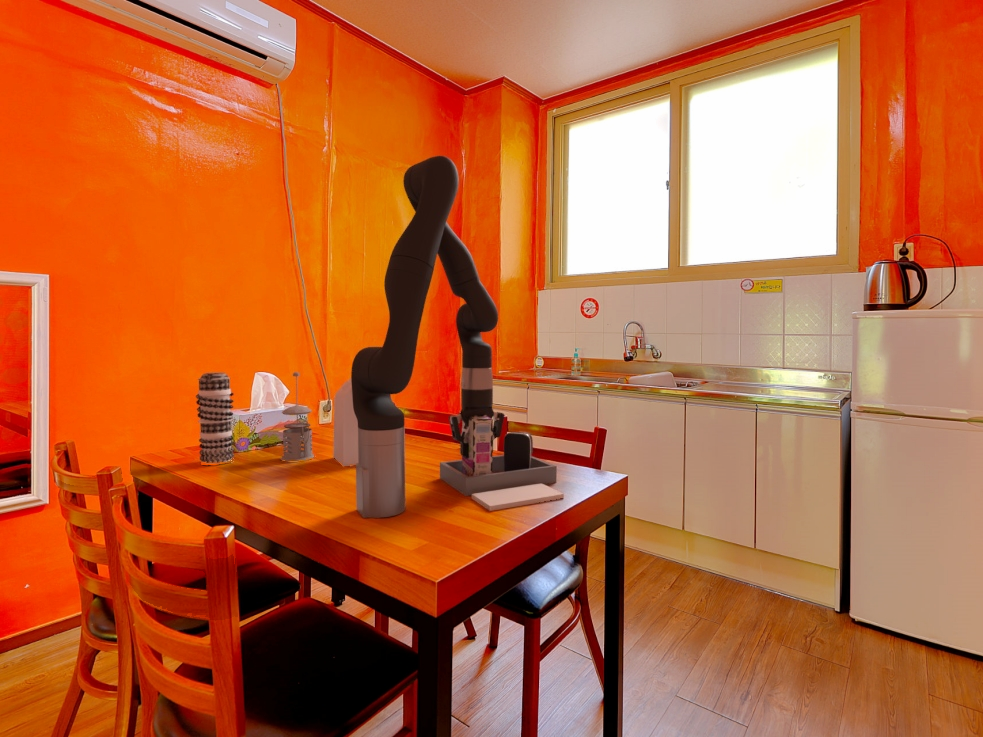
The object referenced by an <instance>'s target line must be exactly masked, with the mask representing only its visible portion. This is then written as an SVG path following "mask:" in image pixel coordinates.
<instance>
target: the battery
mask: <svg viewBox="0 0 983 737" xmlns="http://www.w3.org/2000/svg"><path fill="white" fill-rule="evenodd" d="M533 446H534V443H533V437H532V435H531V433H530V432H529V433H528V432H523V431H521V432H520V431H511V432H507V433H506V434H505V435H504V437H503V455H504V471H503V472H507V471H515V470H522V469H530V468H531V456H532V454H533V450H534V447H533Z"/></svg>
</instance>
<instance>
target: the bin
mask: <svg viewBox="0 0 983 737" xmlns="http://www.w3.org/2000/svg"><path fill="white" fill-rule="evenodd" d="M557 473H558V472H557V465H556V464H553V463H550V462H548V461H545V460H542V459H540V458H537V457H535V456H533V455H531V468H530V469H522V470H515V471H507V472H504V454H501V455H494V456H493V455H492V474H485V475H478V476H470V477H468V476H466V475H464V474H463V473H462V459H459V460H458V459H457V460H450V461H449V460H447V461H442V462H439V479H440V480H442V481H443V482H444V483H447V485H449V486H451V487H452V488H453V489H455V490H456V491H458V492H460V494H462V495H464V496H465V497H470V496H472V494H475V493H481V492H488V491H494V490H501V489H508V488H514V487H521V486H527V485H534V484H541V483H542V484H544V485H548V484H547V483H549V484H554V483H553V482H556V483H557Z"/></svg>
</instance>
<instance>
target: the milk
mask: <svg viewBox="0 0 983 737" xmlns="http://www.w3.org/2000/svg"><path fill="white" fill-rule="evenodd" d="M333 399H334V404H333V406H334V407H333V408H334V409H333V410H334V411H333V412H334V413H333V447H332V448H333V450H332V451H333V453H332V454H333V455H332V458H333V457H334V458H335V459H336V460H337V461H338V462H340V463H341V464H342V465H343V466H350V465H356V464H357V463H358V421H357V418H356V415H355V413H354V409H353V397H352V382H351V377H350V378H349V379H348V380H346V381H345V382H343V384H342V385H341V387H340V388H339V389H338V390H337V391H336V393H335V394H334V398H333ZM334 458H333V459H334ZM335 459H334V460H335ZM336 460H335V461H336ZM337 461H336V462H337ZM338 462H337V463H338ZM350 467H351V466H350Z"/></svg>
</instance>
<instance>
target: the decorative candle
mask: <svg viewBox="0 0 983 737" xmlns="http://www.w3.org/2000/svg"><path fill="white" fill-rule="evenodd" d="M230 379H231V377H229V376H228V374H227V373H226V372H206V373H203V374H202V375H201V376H200V377H199V378H198V379H197V380H198V393H197V394H196V395H195V398H196V401H195V403H196V405H198V407H197V408H196V410H197V418H200V419H198V423H199V424H200V425H199V427H200V432H199V439H198V442H199V443H200V444H199V445H198V446H199V448H201V449H200V450H199V452H198V453H199V455H200V456H199V460H200V462H201V461H202V462H206V463H220V462H227V461H230V460H231V459H232V458H233V459H234V457H235V455H234V454H235V453H234V451H235V450H234V447H233V445H234V441H232V440H234V436H233V430H232V428H231V427H232V424H231V422H232V421H233V417H232V416H233V415H234V413H233V412H232V411H231V409H233V408H234V405H233V404H232V403H234V402H235V401H234V400H233V399H232V398H230V397H232V396H234V394H235V393H234V392H232V388H230V385H231V383H230ZM231 461H232V460H231Z"/></svg>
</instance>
